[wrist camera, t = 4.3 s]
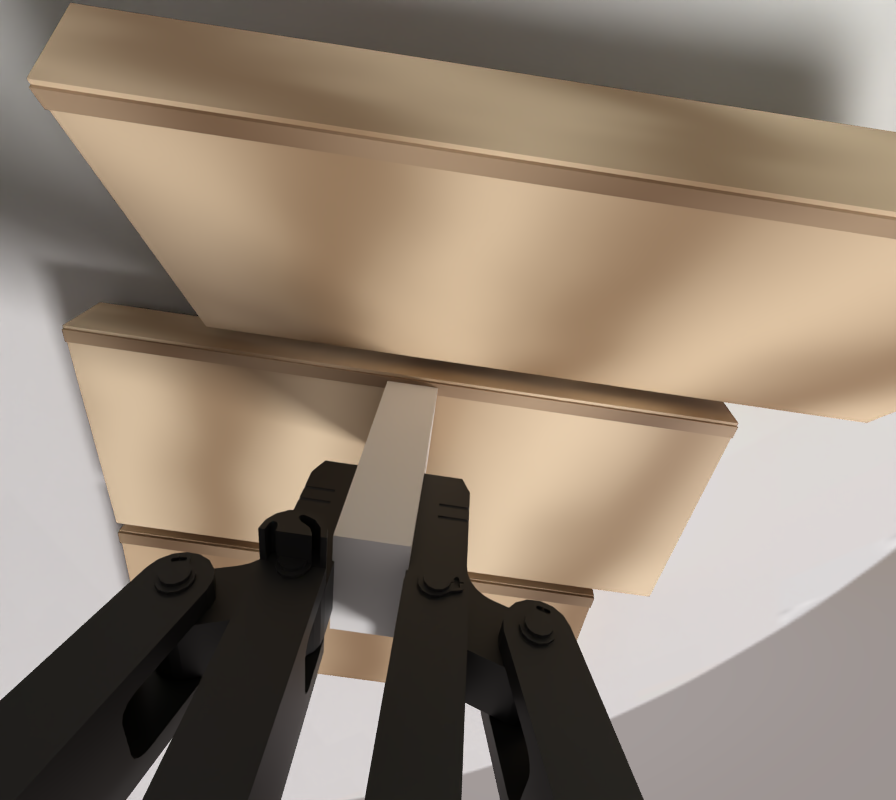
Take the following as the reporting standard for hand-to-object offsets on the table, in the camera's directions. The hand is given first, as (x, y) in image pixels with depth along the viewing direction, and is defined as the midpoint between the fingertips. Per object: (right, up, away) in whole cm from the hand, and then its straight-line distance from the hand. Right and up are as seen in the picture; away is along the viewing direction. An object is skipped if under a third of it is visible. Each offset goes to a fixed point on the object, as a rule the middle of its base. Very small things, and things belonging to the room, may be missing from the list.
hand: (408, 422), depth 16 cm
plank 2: (-1, -1, +3) cm, 3 cm away
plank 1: (+4, +5, -4) cm, 7 cm away
